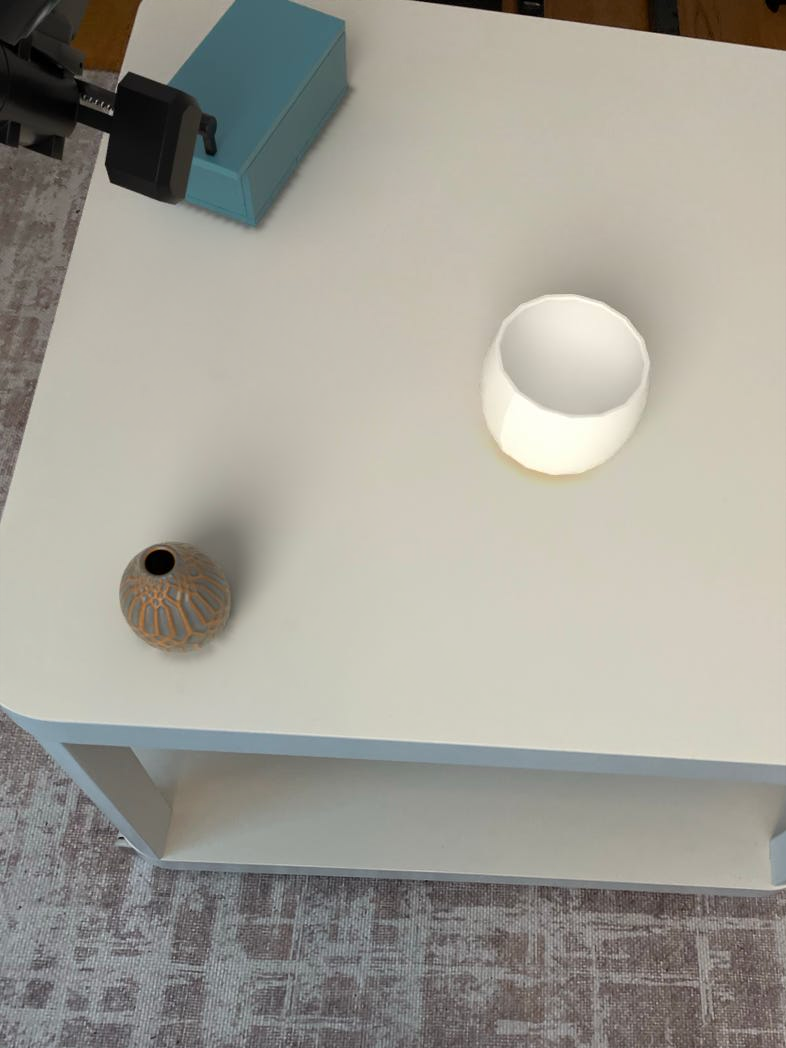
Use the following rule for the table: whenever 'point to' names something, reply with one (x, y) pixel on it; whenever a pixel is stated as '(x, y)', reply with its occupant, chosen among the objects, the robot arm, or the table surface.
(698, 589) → the table surface
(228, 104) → the lid
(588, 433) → the cup
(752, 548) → the table surface
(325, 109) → the teal rectangular box
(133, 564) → the vase
